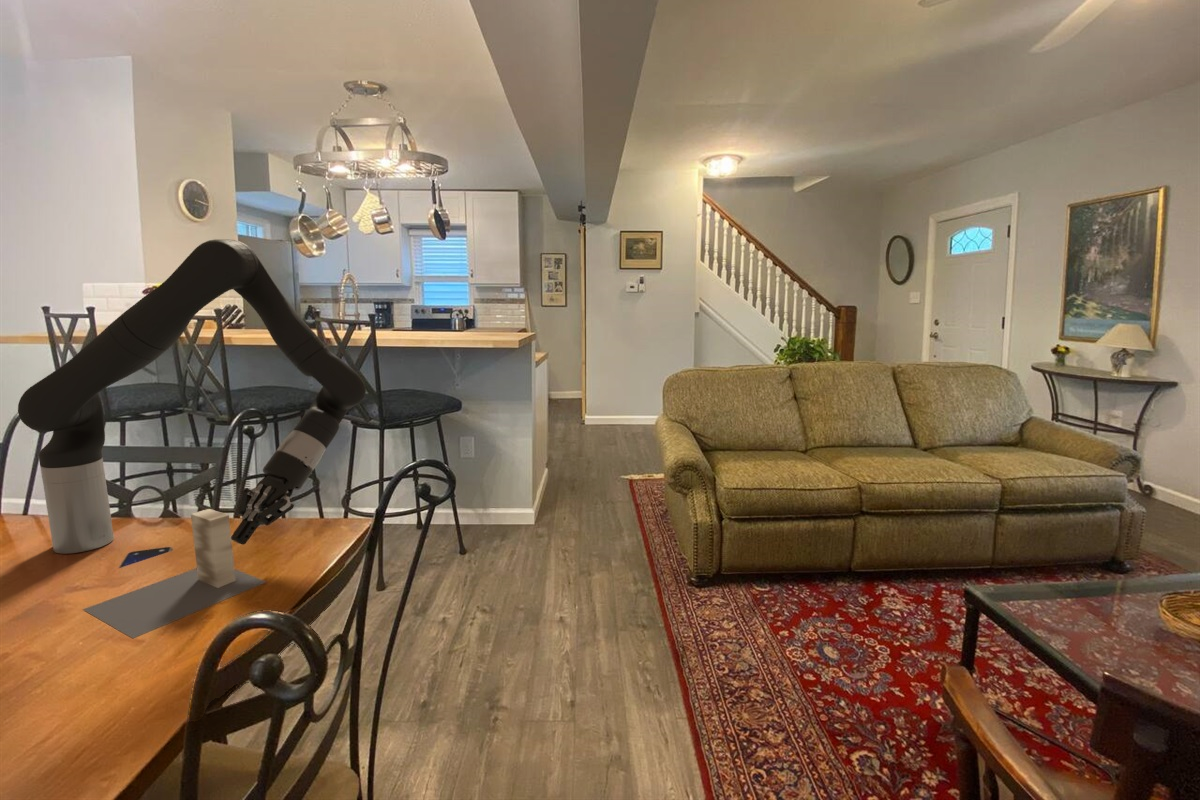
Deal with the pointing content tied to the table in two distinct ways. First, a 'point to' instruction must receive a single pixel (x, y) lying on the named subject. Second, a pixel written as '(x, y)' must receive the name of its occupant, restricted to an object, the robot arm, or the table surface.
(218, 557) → the beige rectangular block
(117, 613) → the rubber mat
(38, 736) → the table surface
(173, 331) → the robot arm
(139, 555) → the smartphone
